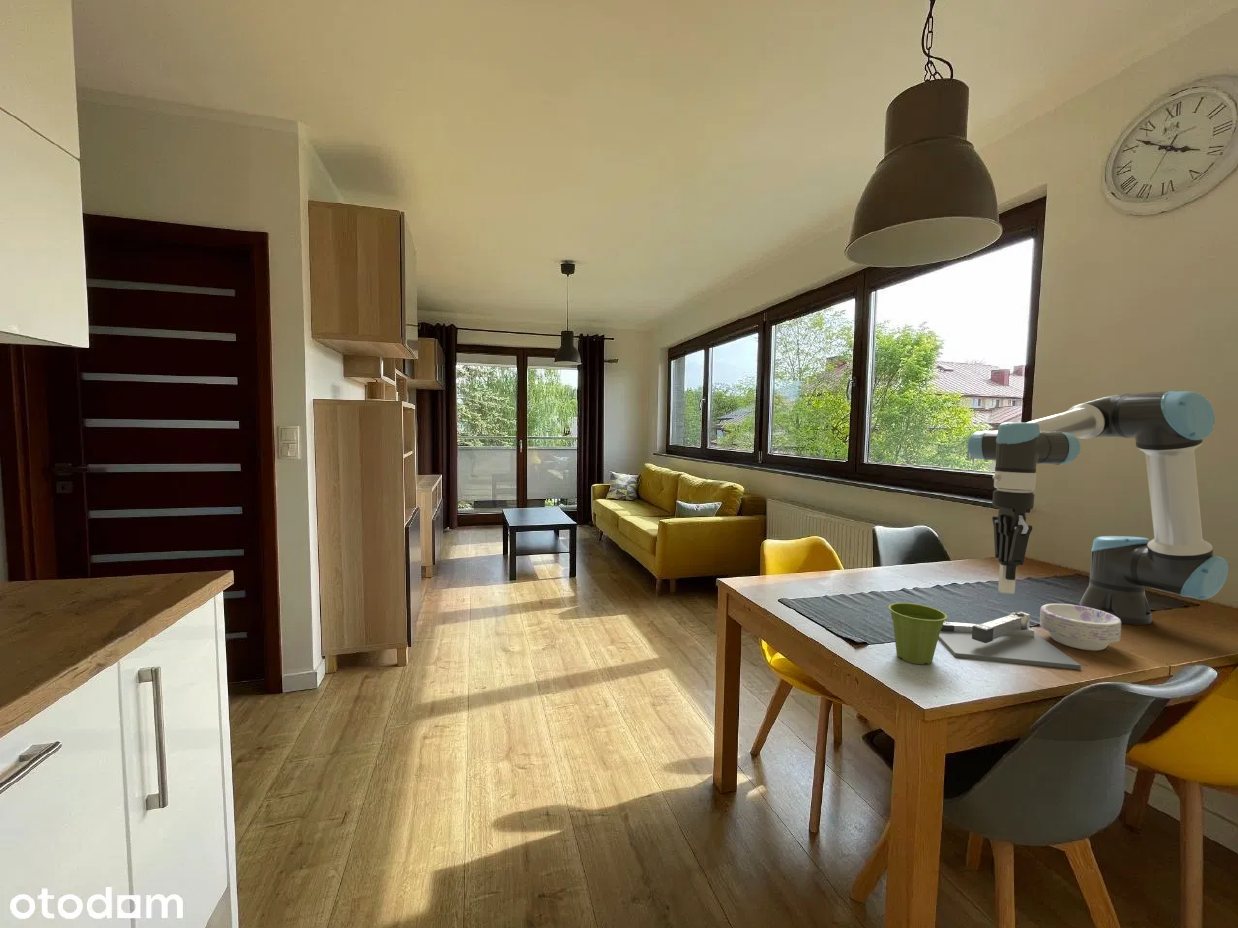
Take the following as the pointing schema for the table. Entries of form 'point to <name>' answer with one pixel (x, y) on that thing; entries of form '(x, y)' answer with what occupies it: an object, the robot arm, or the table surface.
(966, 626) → the arm
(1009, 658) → the board
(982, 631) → the bar
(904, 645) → the plant pot
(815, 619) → the table surface
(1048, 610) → the paper bowls
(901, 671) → the table surface
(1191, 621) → the table surface
